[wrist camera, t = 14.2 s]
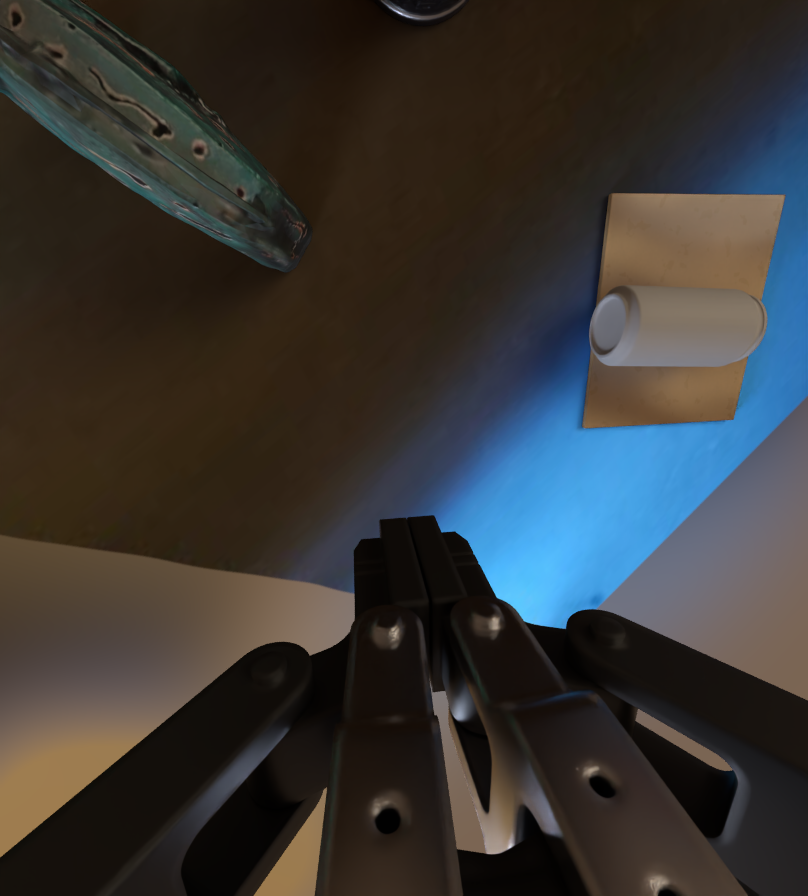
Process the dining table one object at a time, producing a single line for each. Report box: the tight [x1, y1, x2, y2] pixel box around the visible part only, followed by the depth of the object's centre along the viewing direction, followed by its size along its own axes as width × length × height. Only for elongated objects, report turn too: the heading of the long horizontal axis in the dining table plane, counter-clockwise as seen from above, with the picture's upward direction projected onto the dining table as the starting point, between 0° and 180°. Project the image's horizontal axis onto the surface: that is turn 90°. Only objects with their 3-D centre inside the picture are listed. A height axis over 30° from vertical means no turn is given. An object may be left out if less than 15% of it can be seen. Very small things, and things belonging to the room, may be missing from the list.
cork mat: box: [582, 193, 785, 428], centre depth 38 cm, size 20×16×1 cm
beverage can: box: [589, 285, 767, 367], centre depth 35 cm, size 6×6×12 cm
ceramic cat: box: [0, 0, 312, 272], centre depth 21 cm, size 20×6×20 cm, turn 57°
